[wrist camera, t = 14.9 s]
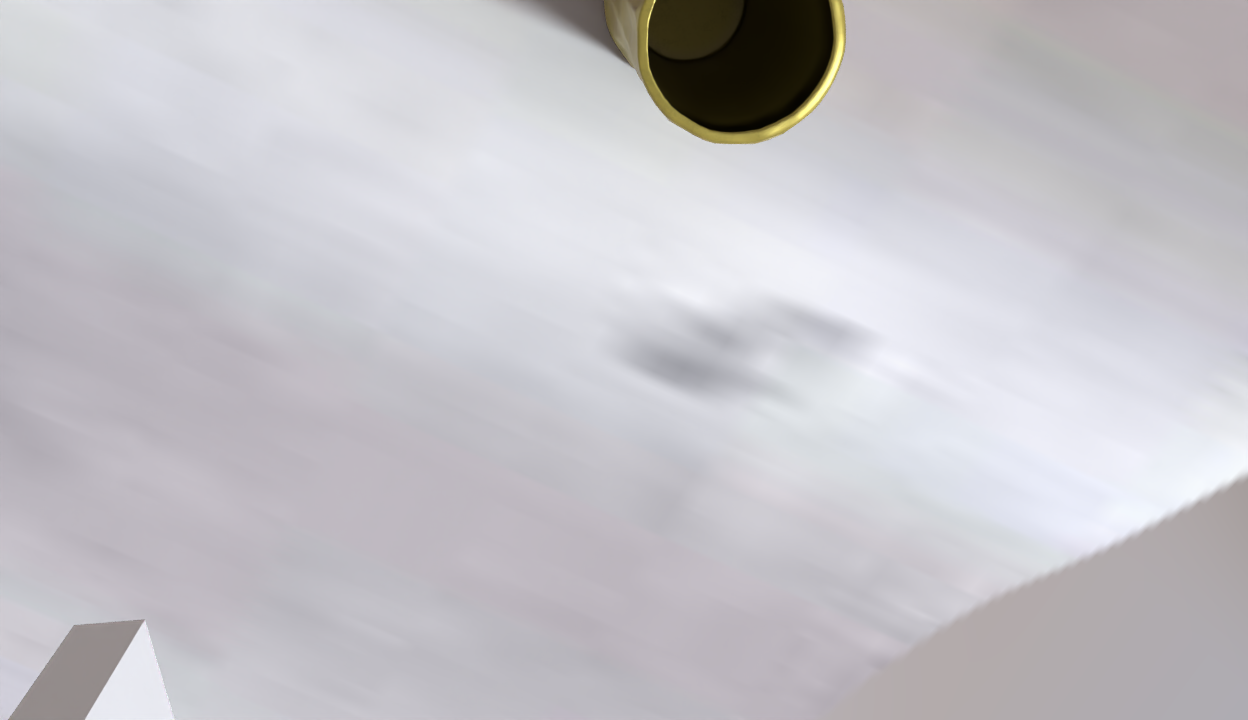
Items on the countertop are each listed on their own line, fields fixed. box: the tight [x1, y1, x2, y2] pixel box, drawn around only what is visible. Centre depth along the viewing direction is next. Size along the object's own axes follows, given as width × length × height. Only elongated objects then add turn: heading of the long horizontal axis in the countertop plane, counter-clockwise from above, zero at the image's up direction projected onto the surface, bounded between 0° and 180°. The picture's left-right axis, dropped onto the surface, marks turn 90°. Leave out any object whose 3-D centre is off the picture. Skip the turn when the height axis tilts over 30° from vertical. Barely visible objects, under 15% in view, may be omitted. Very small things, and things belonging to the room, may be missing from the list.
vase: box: [604, 0, 846, 144], centre depth 32 cm, size 6×6×14 cm
